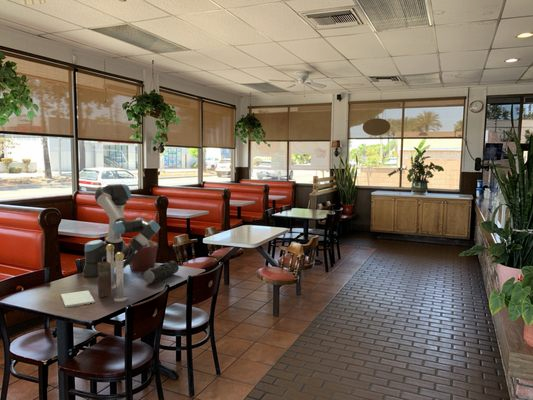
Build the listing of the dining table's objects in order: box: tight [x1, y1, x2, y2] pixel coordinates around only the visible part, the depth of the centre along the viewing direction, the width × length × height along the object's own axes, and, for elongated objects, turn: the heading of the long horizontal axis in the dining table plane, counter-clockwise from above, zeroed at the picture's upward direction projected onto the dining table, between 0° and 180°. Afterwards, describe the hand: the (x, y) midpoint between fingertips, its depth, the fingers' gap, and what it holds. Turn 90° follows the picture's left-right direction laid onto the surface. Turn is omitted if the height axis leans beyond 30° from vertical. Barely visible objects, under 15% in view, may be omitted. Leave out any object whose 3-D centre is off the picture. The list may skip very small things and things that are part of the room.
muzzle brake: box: [142, 260, 179, 284], centre depth 284 cm, size 10×28×10 cm, turn 158°
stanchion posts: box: [106, 244, 128, 303], centre depth 252 cm, size 7×33×28 cm, turn 32°
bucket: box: [125, 235, 159, 273], centre depth 309 cm, size 24×22×25 cm
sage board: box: [60, 290, 96, 308], centre depth 242 cm, size 15×22×1 cm
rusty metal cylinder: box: [97, 261, 112, 298], centre depth 249 cm, size 8×7×20 cm
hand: (114, 269), depth 250 cm, fingers open, 13 cm apart
